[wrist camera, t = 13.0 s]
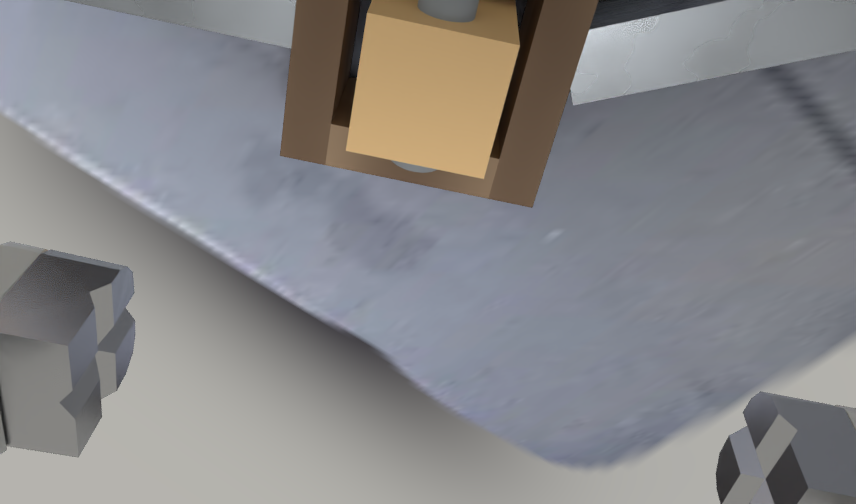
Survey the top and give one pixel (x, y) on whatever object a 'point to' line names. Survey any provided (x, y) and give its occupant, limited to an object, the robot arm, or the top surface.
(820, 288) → the top surface
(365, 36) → the block
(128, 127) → the top surface
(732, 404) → the top surface
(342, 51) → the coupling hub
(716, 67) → the steel shafts
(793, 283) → the top surface
